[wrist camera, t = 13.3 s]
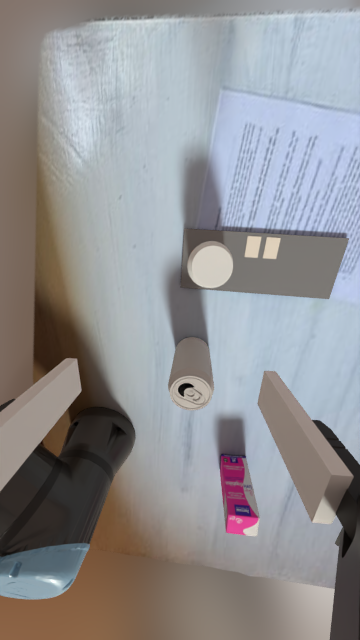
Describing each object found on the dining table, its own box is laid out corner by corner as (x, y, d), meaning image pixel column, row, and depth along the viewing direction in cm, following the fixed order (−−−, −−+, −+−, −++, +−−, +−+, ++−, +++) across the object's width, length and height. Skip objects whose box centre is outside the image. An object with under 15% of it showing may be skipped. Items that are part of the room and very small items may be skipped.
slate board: (180, 286, 33) (180, 287, 32) (184, 228, 30) (184, 228, 29) (326, 298, 32) (329, 299, 31) (346, 238, 28) (349, 238, 28)
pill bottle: (185, 247, 30) (181, 245, 21) (222, 239, 29) (235, 233, 20) (192, 283, 32) (190, 296, 23) (227, 276, 31) (240, 287, 22)
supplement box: (245, 454, 45) (261, 519, 34) (243, 472, 47) (257, 538, 36) (220, 453, 45) (228, 515, 34) (219, 470, 47) (226, 534, 36)
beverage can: (190, 328, 35) (187, 364, 24) (216, 349, 36) (225, 393, 25) (169, 351, 37) (157, 394, 26) (194, 370, 38) (193, 420, 27)
